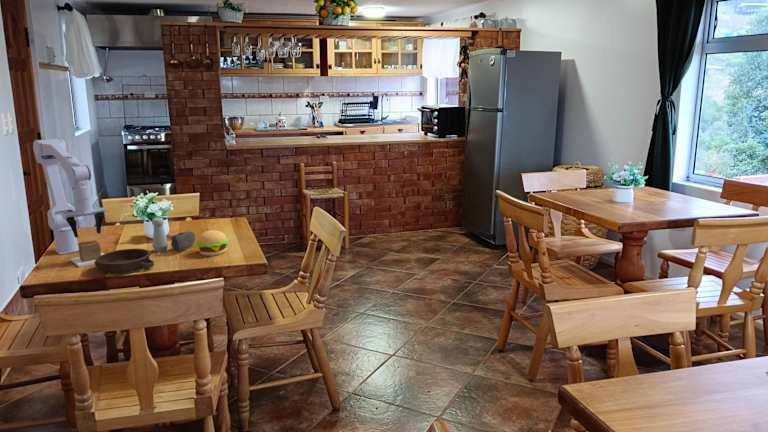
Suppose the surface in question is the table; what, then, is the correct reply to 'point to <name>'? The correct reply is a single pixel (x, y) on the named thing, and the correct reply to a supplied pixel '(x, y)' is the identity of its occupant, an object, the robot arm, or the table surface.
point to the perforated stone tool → (182, 241)
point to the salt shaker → (159, 235)
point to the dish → (124, 261)
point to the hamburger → (212, 243)
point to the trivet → (80, 262)
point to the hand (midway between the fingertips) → (87, 235)
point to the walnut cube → (89, 250)
